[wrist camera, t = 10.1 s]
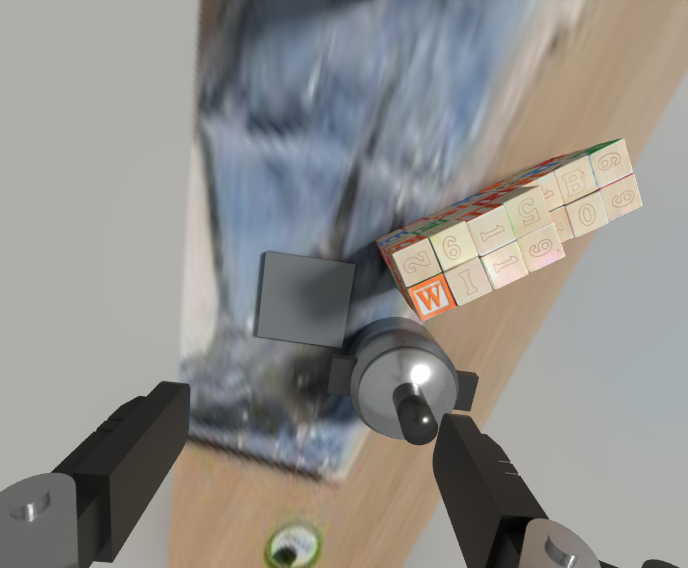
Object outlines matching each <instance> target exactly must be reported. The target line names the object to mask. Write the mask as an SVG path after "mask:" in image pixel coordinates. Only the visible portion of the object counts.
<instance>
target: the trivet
mask: <svg viewBox="0 0 688 568" xmlns="http://www.w3.org/2000/svg"><path fill="white" fill-rule="evenodd" d="M355 266H356V265H355V264H353V263H346V262H339V261H333V260H326V259H319V258H313V257H306V256H299V255H293V254H286V253H279V252H272V251H266V256H265V266H264V275H263V285H262V294H261V304H260V313H259V323H258V332H257V336H258V337H265V338H273V339H280V340H287V341H295V342H302V343H309V344H317V345H324V346H331V347H339V348H342V345H343V339H344V333H345V327H346V321H347V315H348V308H349V302H350V296H351V290H352V284H353V278H354V272H355Z"/></svg>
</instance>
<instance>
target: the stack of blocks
mask: <svg viewBox="0 0 688 568" xmlns="http://www.w3.org/2000/svg"><path fill="white" fill-rule="evenodd" d="M640 207H642V202H641V198H640V194H639V191H638V187H637V183H636V178H635V175H634V174H633V173H632V167H631V163H630V159H629V155H628V152H627V148H626V144H625V141H624V139H623V138H622V139H617V140H613V141H610V142H606V143H602V144H598V145H595V146H593V147H591V148H588V149H584V150H580V151H576V152H573V153H570V154H566V155H562V156H558V157H555V158H552V159H550V160H548V161H546V162H544V163H542V164H540V165H538V166H535V167H533V168H531V169H528V170H525V171H523V172H521V173H519V174H517V175H514V176H512V177H510V178H508V179H506V180H504V181H502V182H499V183H497V184H495V185H493V186H491V187H489V188H486V189H484V190H482V191H480V192H478V193H476V194H475V195H473V196H471V197H469V198H466V199H464V200H462V201H460V202H458V203H456V204H453V205H452V206H450V207H447V208H445V209H443V210H441V211H439V212H437V213H435V214H432V215H430V216H428V217H426V218H422V219H420V220H418V221H416V222H414V223H411V224H409V225H407V226H405V227H403V228H401V229H398V230H396V231H393V232H391V233H389V234H387V235H385V236H383V237H380V238H378V239H376V240H375V241H376V243H377V246H378V248H379V250H380V252H381V255H382V257H383V259H384V261H385V263H386V265H387V267H388V269H389V271H390V274H391V276H392V278H393V281H394V283H395V285H396V287H397V289H398V290H399V291H400V293H401V294H402V295H403V297H404V298H405V300H406V301H407V303H408V305H409V306H410V307H411V309H412V310H414V312H415V313H416V314H417V316H418V317H419V319H420V320H421V321H422V322H423V321H425V320H428V319H430V318H432V317H434V316H436V315H439V314H441V313H443V312H445V311H447V310H450V309H452V308H454V307H456V306H461V305H463V304H465V303H468V302H470V301H472V300H474V299H476V298H478V297H480V296H483V295H485V294H487V293H489V292H491V291H492V289H493V290H496V289H499V288H501V287H503V286H505V285H507V284H509V283H512V282H514V281H516V280H518V279H520V278H522V277H524V276H526V275H527V274H528V273H530V272H534V271H536V270H538V269H540V268H542V267H544V266H546V265H548V264H551V263H553V262H555V261H557V260H559V259H561V258H563V257H565V253H564V250H563V248H562V245H561V243H563V242H566V241H568V240H570V239H572V238H577V237H579V236H581V235H583V234H586V233H588V232H590V231H592V230H595V229H597V228H599V227H601V226H603V225H606V224H607V223H608V222H609V221H611V220H614V219H616V218H618V217H621V216H623V215H625V214H627V213H629V212H631V211H634V210H636V209H638V208H640Z"/></svg>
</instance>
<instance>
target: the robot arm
mask: <svg viewBox="0 0 688 568" xmlns="http://www.w3.org/2000/svg"><path fill="white" fill-rule="evenodd" d="M189 415H190V386H189V384H186V383H177V382H167V381H162V382H160V383H159V384H158V385H157V386H156V387H155V388H154V389H153V391H151V392H150V394H148V396H147V397H145V396H138V397H136V398H134V399H133V400H131V401H129V402H127V403H125V404H123V405H121V406H120V407H119V408H118V409H117V410H116V411H115V412H114V413H113V414H112V415H111V416H110V417H109V418H108V420H107V421H104V422H103V423H102V424H101V425H100V426H99V427H98V428H97V430H96V432H93V433H92V434H91V435H90V436H89V437H88V438H86V439H85V441H83V442H82V443H81V444H80V445H79V446H78V447H77V448H76V449H75V450H74V451H73V452H72V453H71V454H70V455H69V456H68V457H66V458H65V459H64V460H63V461H62V462H61V463H60V464H59V465H58V466H57V467H56V468H55V469H54V470H53V471H52V472H51V473H45V474H40V475H36V476H32V477H29V478H27V479H24V480H22V481H19V482H17V483H15V484H13V485H11V486H9V487H7V488H6V489H4V490H3V491H1V492H0V568H89V567H90V565H91V564H92V562H93V561H97V562H110V563H112V562H113V561H114V559H115V558H116V556H117V554H118V553H119V551H120V550H121V548H122V546H123V545H124V543H125V541H126V540H127V538H128V537H129V535H130V533H131V532H132V530H133V529H134V527H135V525H136V524H137V522H138V520H139V519H140V517H141V515H142V514H143V512H144V511H145V509H146V508H147V506H148V504H149V502H150V501H151V499H152V498H153V496H154V495H155V493H156V491H157V490H158V488H159V486H160V485H161V483H162V482H163V480H164V478H165V477H166V475H167V474H168V472H169V470H170V469H171V467H172V465H173V464H174V462H175V461H176V459H177V457H178V456H179V454H180V453H181V451H182V449H183V447H184V445H185V442H186V439H187V436H188V431H189ZM433 472H434V476H435V479H436V481H437V484H438V487H439V490H440V493H441V495H442V498H443V501H444V504H445V507H446V509H447V512H448V515H449V518H450V520H451V523H452V526H453V529H454V532H455V534H456V537H457V540H458V543H459V546H460V548H461V551H462V554H463V557H464V560H465V562H466V565H467V568H618V567H615V566H612V565H610V564H607V563H605V562H602V561H600V560H598V559H597V557H596V555H595V554H594V553H593V551H592V550H591V549H590V547H589V546H588V545H587V544H586V543H585V542H584V541H583V540H582V539H581V538H580V537H579V536H578V535H576V534H575V533H574V532H572V531H571V530H570V529H568V528H566V527H564V526H563V525H561V524H559V523H557V522H554V521H551V520H549V518H548V517H547V515H546V514H545V512H544V511H543V509H542V508H541V506H540V505H539V503H538V502H537V500H536V499H535V497H534V496H533V494H532V493H531V491H530V490H529V488H528V487H527V485H526V484H525V482H524V481H523V479H522V478H521V476H518V472H517V470H516V469H515V467H514V466H513V464H510V460H509V458H508V457H507V455H506V454H505V452H504V451H503V449H502V448H501V447H500V446H499V445H498V444H497V443H495V441H493V440H492V439H491V438H490V437H489V436H488V435H487V434H481V432H480V431H479V429H478V428H477V426H476V424H475V423H474V421H473V420H472V418H471V417H470V416H467V415H458V414H449V413H445V414H444V415H443V417H442V420H441V424H440V428H439V432H438V436H437V440H436V444H435V448H434V453H433ZM641 568H678V567H677V566H674V565H672V564H670V563H667V562H664V561H660V560H653V559H652V560H647V561H645V562H644V564H643V566H642V567H641Z"/></svg>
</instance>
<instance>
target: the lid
mask: <svg viewBox="0 0 688 568" xmlns="http://www.w3.org/2000/svg"><path fill="white" fill-rule="evenodd" d="M358 400H359V406H360V410H361V413H362V415H363V417H364V418H365V420H366V421H367V423H368V424H369V425H370V426H371V427H372V428H373V429H375V430H376V431H377V432H379V433H381V434H383V435H385V436H387V437H390V438H395V439H403V440H407V441H408V442H409V443H411V444H414V445H424V444H427V443H429V442H431V441H432V440H433V439H434V438H435V437H436V435H437V433H438V428H439V427H440V424H441V420H442V417H443V415H444V414H445V413H449V414H451V412H452V410H453V408H454V405H455V401H456V385H455V381H454V378H453V376H452V374H451V372H450V370H449V369H448V368H447V366H446V365H445V363H444V362H443V361H442V360H441V359H440V358H439V357H438V356H437V355H435V354H434V353H432V352H431V351H429V350H427V349H424V348H421V347H416V346H399V347H394V348H391V349H388V350H386V351H384V352H382V353H380V354H379V355H377V356H376V357H375V358H373V359H372V360H371V361H370V362H369V363H368V365H367V366H366V367H365V369H364V370H363V372H362V374H361V377H360V380H359V384H358Z"/></svg>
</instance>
